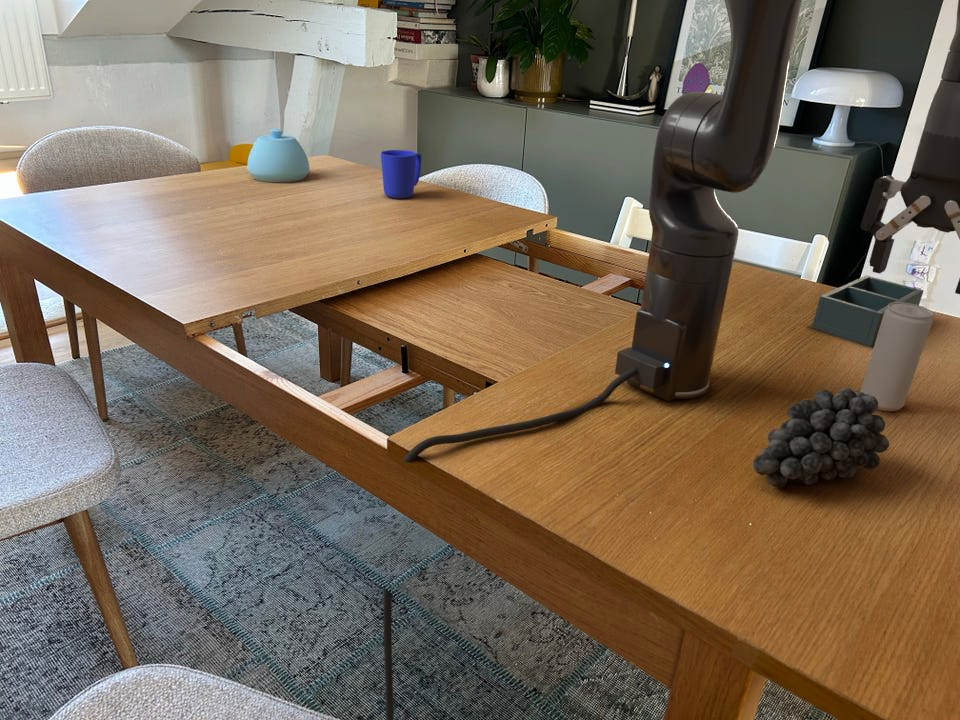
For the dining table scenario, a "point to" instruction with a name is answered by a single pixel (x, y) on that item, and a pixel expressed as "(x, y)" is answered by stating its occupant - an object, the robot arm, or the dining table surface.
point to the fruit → (824, 439)
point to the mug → (400, 172)
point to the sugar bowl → (277, 158)
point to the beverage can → (896, 354)
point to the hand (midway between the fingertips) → (918, 282)
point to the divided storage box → (860, 308)
